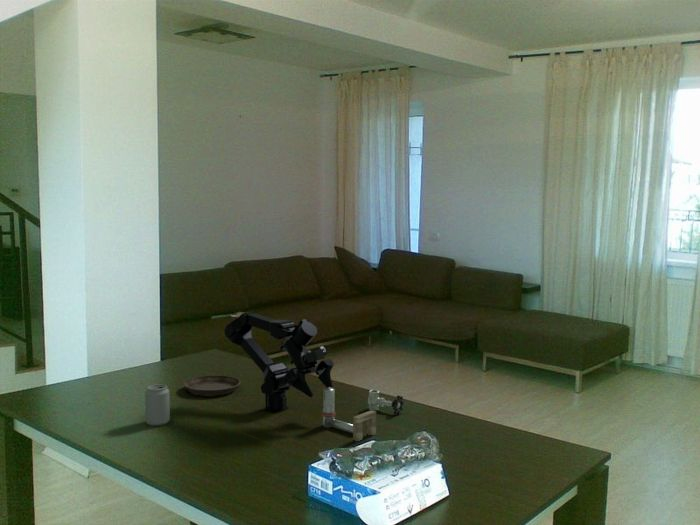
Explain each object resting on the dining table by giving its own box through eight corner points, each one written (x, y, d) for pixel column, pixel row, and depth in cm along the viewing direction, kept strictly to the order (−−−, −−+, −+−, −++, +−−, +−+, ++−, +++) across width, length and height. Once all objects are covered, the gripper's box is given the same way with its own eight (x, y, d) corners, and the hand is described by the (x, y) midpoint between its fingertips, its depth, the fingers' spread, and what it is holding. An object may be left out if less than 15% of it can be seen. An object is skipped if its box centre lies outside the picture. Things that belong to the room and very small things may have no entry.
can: (174, 421, 218) (174, 384, 217) (159, 428, 211) (158, 391, 210) (156, 417, 221) (155, 381, 220) (140, 424, 214) (139, 387, 213)
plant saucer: (213, 379, 267) (213, 371, 266) (251, 389, 255) (251, 380, 254) (172, 392, 250) (172, 383, 250) (210, 402, 238) (210, 393, 238)
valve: (363, 411, 229) (395, 417, 223) (363, 392, 229) (395, 398, 223) (373, 406, 235) (404, 412, 229) (373, 387, 234) (404, 393, 228)
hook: (318, 425, 214) (319, 389, 213) (328, 422, 217) (328, 386, 216) (352, 436, 205) (352, 398, 203) (361, 433, 208) (362, 395, 207)
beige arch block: (353, 441, 202) (353, 417, 201) (370, 433, 208) (371, 410, 207) (358, 442, 201) (358, 418, 200) (376, 435, 207) (376, 411, 206)
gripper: (289, 344, 210) (314, 386, 204) (330, 334, 224) (355, 373, 218) (272, 364, 216) (296, 405, 210) (313, 353, 230) (336, 392, 224)
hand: (322, 393), depth 215 cm, fingers open, 9 cm apart
